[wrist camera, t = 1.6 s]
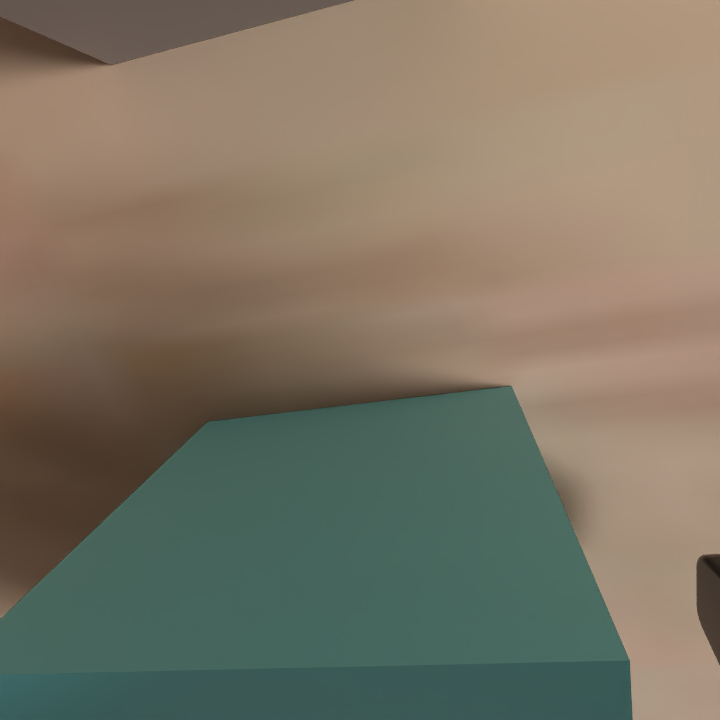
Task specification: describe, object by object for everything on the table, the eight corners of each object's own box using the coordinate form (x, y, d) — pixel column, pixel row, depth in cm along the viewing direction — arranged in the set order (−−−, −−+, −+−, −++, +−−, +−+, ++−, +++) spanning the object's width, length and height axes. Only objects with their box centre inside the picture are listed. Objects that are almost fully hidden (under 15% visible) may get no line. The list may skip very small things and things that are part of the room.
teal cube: (510, 384, 8) (631, 661, 3) (538, 645, 9) (650, 1123, 4) (209, 420, 9) (-60, 676, 4) (274, 653, 10) (129, 1056, 5)
